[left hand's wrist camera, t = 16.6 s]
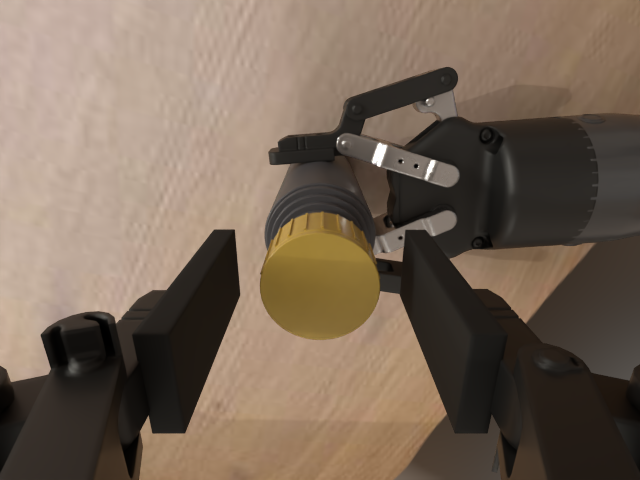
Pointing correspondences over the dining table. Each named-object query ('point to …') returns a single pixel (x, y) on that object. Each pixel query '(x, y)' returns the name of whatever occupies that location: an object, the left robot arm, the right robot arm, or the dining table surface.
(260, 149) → the dining table surface
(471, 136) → the right robot arm
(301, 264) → the cap
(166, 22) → the dining table surface
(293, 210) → the bottle
